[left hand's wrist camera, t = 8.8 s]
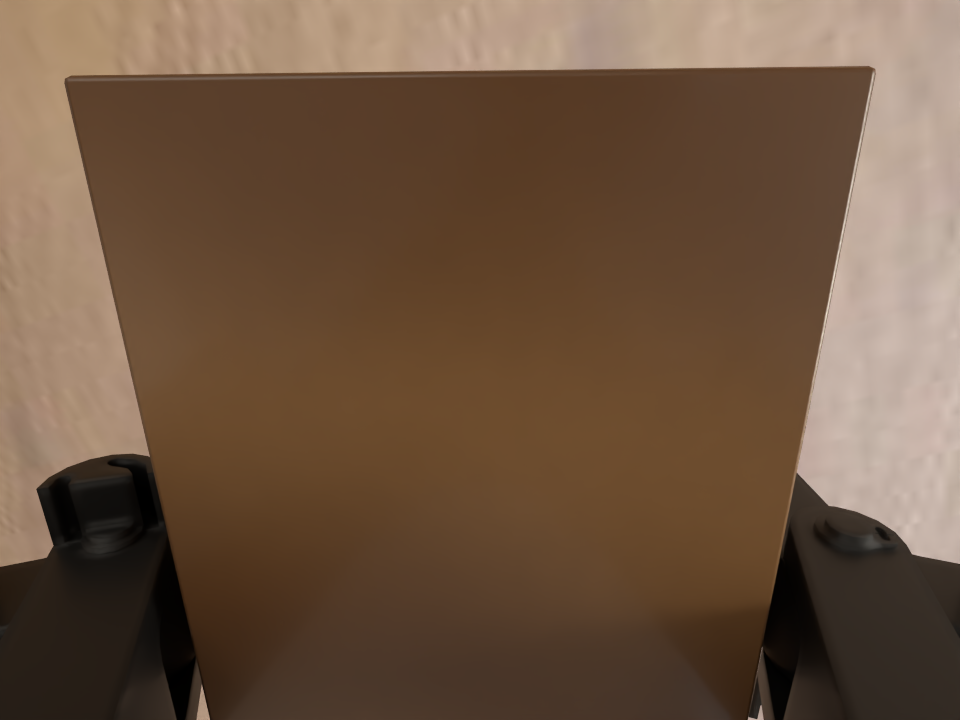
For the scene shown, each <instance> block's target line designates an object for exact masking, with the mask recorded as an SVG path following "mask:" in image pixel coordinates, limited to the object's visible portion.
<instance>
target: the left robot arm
mask: <svg viewBox="0 0 960 720" xmlns="http://www.w3.org/2000/svg"><path fill="white" fill-rule="evenodd" d="M37 493H38V496H39V499H40V502H41V506H42V509H43V512H44V516H45V519H46V522H47V525H48V529H49V532H50V535H51V539H52V542H53V545H54V546H53V548H52V550H51V551H50V553H49V555H48V557H47V558H44V559H39V560H34V561H29V562H24V563H18V564H13V565H8V566H3V567H0V720H196V718H197V712H198V705H199V698H200V691H201V685H202V682H201V677H200V673H199V668H198V664H197V660H196V655H195V651H194V647H193V642H192V638H191V633H190V629H189V625H188V620H187V616H186V612H185V607H184V603H183V599H182V594H181V590H180V585H179V581H178V577H177V572H176V568H175V564H174V559H173V555H172V551H171V546H170V542H169V537H168V533H167V529H166V524H165V520H164V516H163V511H162V507H161V502H160V498H159V494H158V489H157V485H156V481H155V476H154V472H153V468H152V463H151V459H150V457H148V456H143V455H137V454H119V455H109V456H104V457H100V458H95V459H90V460H87V461H84V462H81V463H79V464H76V465H73V466H70V467H67V468H66V469H64V470H62V471H60V472H58V473H56V474H55V475H53V476H51V477H49V478H48V479H47V480H46V481H45V482H44V483H42V484H41V485H40V486H39V487H38V488H37ZM760 705H762V710H763V717H764V720H960V564H957V563H951V562H946V561H941V560H936V559H931V558H925V557H920V556H916V555H912V554H911V552H910V550H909V549H908V547H907V545H906V544H905V543H904V542H903V541H902V539H901V538H900V537H899V536H898V535H897V534H896V533H895V532H894V531H892V530H891V529H889V528H888V527H886V526H885V525H883V524H882V523H880V522H879V521H877V520H874V519H872V518H870V517H867V516H865V515H863V514H860V513H858V512H855V511H851V510H846V509H842V508H838V507H832V506H828V505H827V504H826V503H825V502H824V501H823V500H822V499H821V498H820V497H819V495H818V494H817V493H816V492H815V491H814V490H813V489H812V488H811V487H810V486H809V485H808V484H807V483H806V482H805V481H804V480H803V479H802V478H801V477H800V476H799V475H798V474H797V473H796V478H795V483H794V488H793V493H792V498H791V503H790V508H789V513H788V518H787V523H786V529H785V534H784V539H783V544H782V549H781V554H780V559H779V564H778V569H777V574H776V579H775V584H774V589H773V594H772V599H771V604H770V609H769V614H768V619H767V624H766V629H765V634H764V639H763V645H762V652H761V657H760V661H759V666H758V670H757V675H756V680H755V685H754V690H753V695H752V700H751V705H750V710H749V717H751V718H755V719H757V718H758V713H759V709H760Z"/></svg>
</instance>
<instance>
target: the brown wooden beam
mask: <svg viewBox="0 0 960 720" xmlns="http://www.w3.org/2000/svg"><path fill="white" fill-rule="evenodd" d="M875 74H876V73H875V69H874V68H872V67H869V66H839V67H756V68H672V69H589V70H505V71H421V72H338V73H254V74H171V75H87V76H70V77H68V78H65V88H66V92H67V96H68V101H69V105H70V109H71V114H72V118H73V123H74V127H75V131H76V136H77V140H78V144H79V149H80V153H81V158H82V162H83V166H84V171H85V175H86V179H87V184H88V188H89V192H90V197H91V201H92V206H93V210H94V214H95V219H96V223H97V227H98V232H99V236H100V240H101V245H102V249H103V254H104V258H105V262H106V267H107V271H108V275H109V280H110V284H111V289H112V293H113V297H114V302H115V306H116V310H117V315H118V319H119V323H120V328H121V332H122V337H123V341H124V345H125V350H126V354H127V358H128V363H129V367H130V371H131V376H132V380H133V385H134V389H135V393H136V398H137V402H138V406H139V411H140V415H141V420H142V424H143V428H144V433H145V437H146V441H147V446H148V450H149V454H150V459H151V463H152V468H153V472H154V476H155V481H156V485H157V489H158V494H159V498H160V502H161V507H162V511H163V516H164V520H165V524H166V529H167V533H168V537H169V542H170V546H171V551H172V555H173V559H174V564H175V568H176V572H177V577H178V581H179V585H180V590H181V594H182V599H183V603H184V607H185V612H186V616H187V620H188V625H189V629H190V633H191V638H192V642H193V647H194V651H195V655H196V660H197V664H198V668H199V673H200V677H201V682H202V686H203V690H204V695H205V699H206V703H207V708H208V712H209V716H210V720H748V715H749V710H750V705H751V700H752V695H753V690H754V685H755V680H756V675H757V670H758V665H759V660H760V655H761V650H762V645H763V639H764V634H765V629H766V624H767V619H768V614H769V609H770V604H771V599H772V594H773V589H774V584H775V579H776V574H777V569H778V564H779V559H780V554H781V549H782V544H783V539H784V534H785V529H786V523H787V518H788V513H789V508H790V503H791V498H792V493H793V488H794V483H795V478H796V473H797V468H798V463H799V458H800V453H801V448H802V443H803V438H804V433H805V428H806V423H807V418H808V412H809V407H810V402H811V397H812V392H813V387H814V382H815V377H816V372H817V367H818V362H819V357H820V352H821V347H822V342H823V337H824V332H825V327H826V322H827V317H828V312H829V307H830V302H831V296H832V291H833V286H834V281H835V276H836V271H837V266H838V261H839V256H840V251H841V246H842V241H843V236H844V231H845V226H846V221H847V216H848V211H849V206H850V201H851V196H852V191H853V185H854V180H855V175H856V170H857V165H858V160H859V155H860V150H861V145H862V140H863V135H864V130H865V125H866V120H867V115H868V110H869V105H870V100H871V95H872V90H873V85H874V80H875Z"/></svg>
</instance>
